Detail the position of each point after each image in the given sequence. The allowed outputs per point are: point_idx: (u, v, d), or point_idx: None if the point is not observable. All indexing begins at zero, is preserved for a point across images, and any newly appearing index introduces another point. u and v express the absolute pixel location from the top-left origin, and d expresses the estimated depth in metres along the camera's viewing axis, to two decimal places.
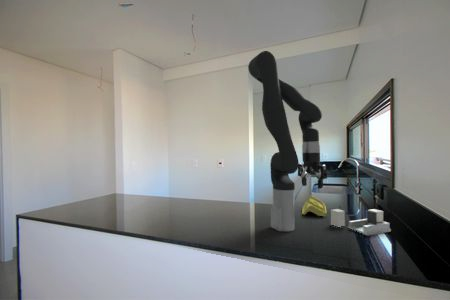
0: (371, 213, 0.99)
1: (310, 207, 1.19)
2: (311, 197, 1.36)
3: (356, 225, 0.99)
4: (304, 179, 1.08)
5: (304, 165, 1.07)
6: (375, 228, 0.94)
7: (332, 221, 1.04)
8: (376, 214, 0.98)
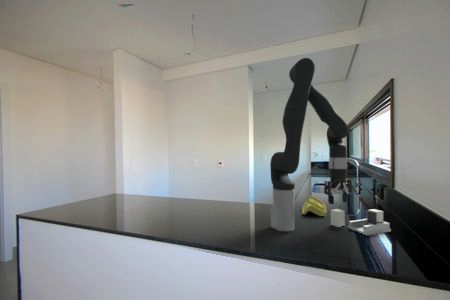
0: (371, 213, 0.99)
1: (310, 207, 1.19)
2: (311, 197, 1.36)
3: (356, 225, 0.99)
4: None
5: (335, 182, 1.02)
6: (375, 228, 0.94)
7: (332, 221, 1.04)
8: (376, 214, 0.98)
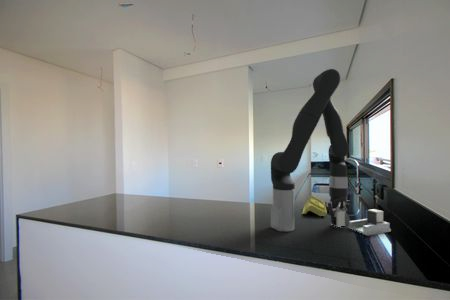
0: (371, 213, 0.99)
1: (310, 207, 1.19)
2: (312, 197, 1.36)
3: (356, 225, 0.99)
4: None
5: (335, 201, 1.02)
6: (375, 228, 0.94)
7: None
8: (376, 214, 0.98)
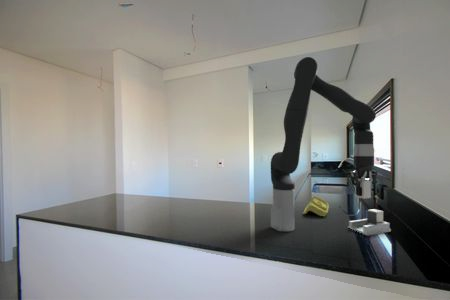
0: (371, 213, 0.99)
1: (310, 207, 1.19)
2: (315, 197, 1.36)
3: (356, 225, 0.99)
4: None
5: (360, 170, 0.95)
6: (375, 228, 0.94)
7: None
8: (376, 214, 0.98)
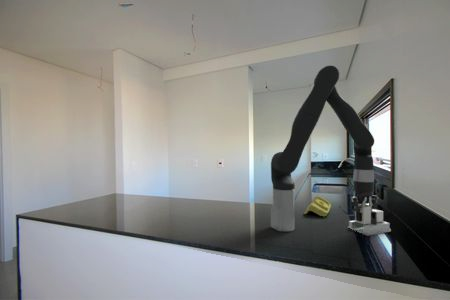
0: (371, 213, 0.99)
1: (311, 206, 1.20)
2: (318, 197, 1.35)
3: (356, 225, 0.99)
4: None
5: (360, 196, 0.95)
6: (375, 228, 0.94)
7: None
8: (376, 214, 0.98)
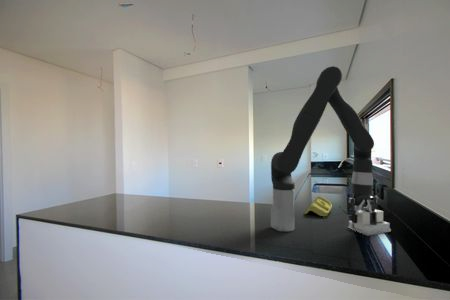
0: (371, 213, 0.99)
1: (311, 206, 1.20)
2: (319, 197, 1.35)
3: None
4: None
5: (358, 198, 0.95)
6: (375, 228, 0.94)
7: (355, 224, 0.98)
8: (376, 214, 0.98)
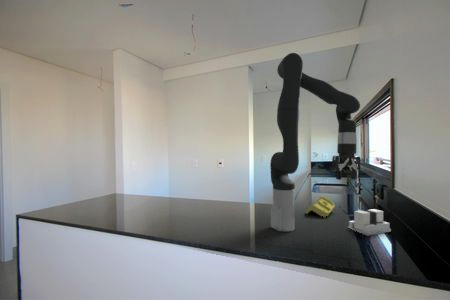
0: (371, 213, 0.99)
1: (311, 206, 1.20)
2: (322, 198, 1.34)
3: None
4: None
5: (343, 157, 1.01)
6: (375, 228, 0.94)
7: (355, 224, 0.98)
8: (376, 214, 0.98)
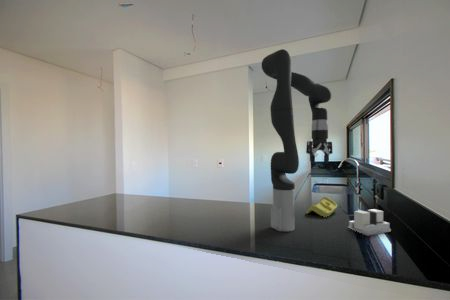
0: (371, 213, 0.99)
1: (312, 206, 1.20)
2: (325, 198, 1.34)
3: None
4: None
5: (316, 142, 1.11)
6: (375, 228, 0.94)
7: (355, 224, 0.98)
8: (376, 214, 0.98)
